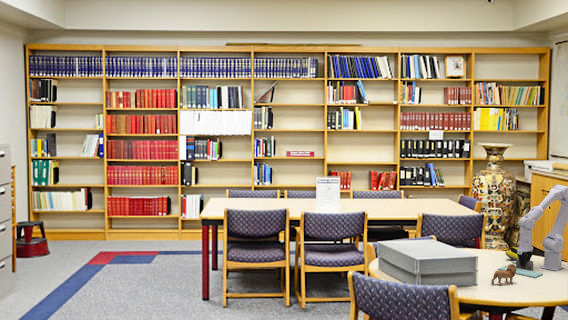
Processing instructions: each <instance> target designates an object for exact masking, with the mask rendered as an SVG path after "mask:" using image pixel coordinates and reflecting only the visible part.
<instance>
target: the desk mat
mask: <svg viewBox="0 0 568 320" xmlns="http://www.w3.org/2000/svg"><path fill="white" fill-rule="evenodd" d="M507 268H508V265H503V266H501V267H498V268H497V271H498V270H500V271H506V270H507ZM515 275H519V276H524V277H527V278H531V277H532V279H538V278H539V277H541V276H543V275H544V273H543V272H538V271H534V270H533V271H529V270H525V269H520V268H516V274H515Z"/></svg>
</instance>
